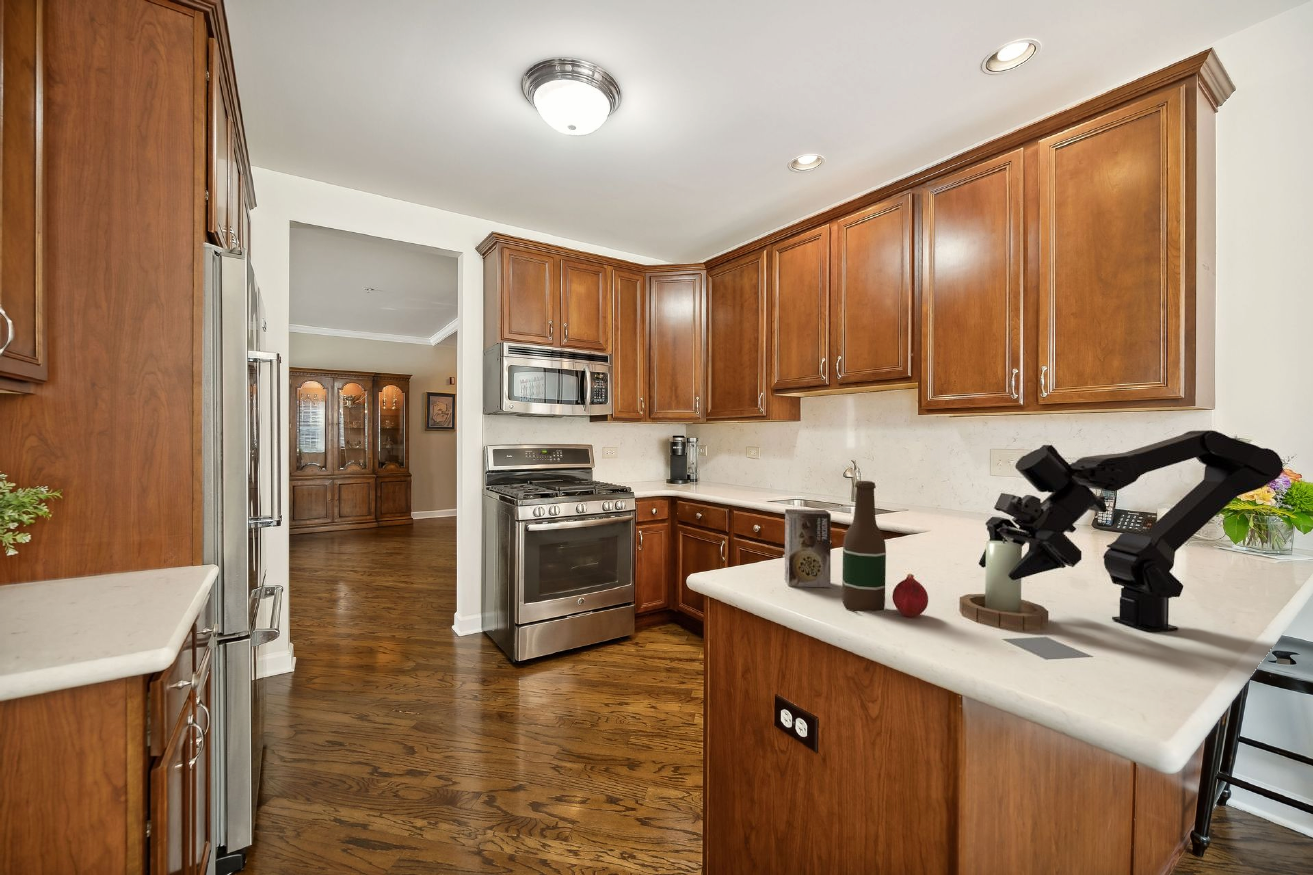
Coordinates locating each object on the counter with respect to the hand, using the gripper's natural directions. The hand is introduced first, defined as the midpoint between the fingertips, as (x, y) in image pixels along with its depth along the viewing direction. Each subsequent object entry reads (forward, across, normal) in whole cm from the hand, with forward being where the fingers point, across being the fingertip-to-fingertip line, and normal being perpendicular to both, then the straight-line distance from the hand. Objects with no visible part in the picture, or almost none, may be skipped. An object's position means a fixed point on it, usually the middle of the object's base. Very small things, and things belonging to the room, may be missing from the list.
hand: (994, 571), depth 98 cm
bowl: (+5, 0, +7) cm, 9 cm away
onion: (+17, 0, -4) cm, 17 cm away
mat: (+6, +14, +6) cm, 17 cm away
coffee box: (+26, -22, -13) cm, 37 cm away
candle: (+5, 0, +7) cm, 8 cm away
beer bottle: (+21, -5, -9) cm, 24 cm away
